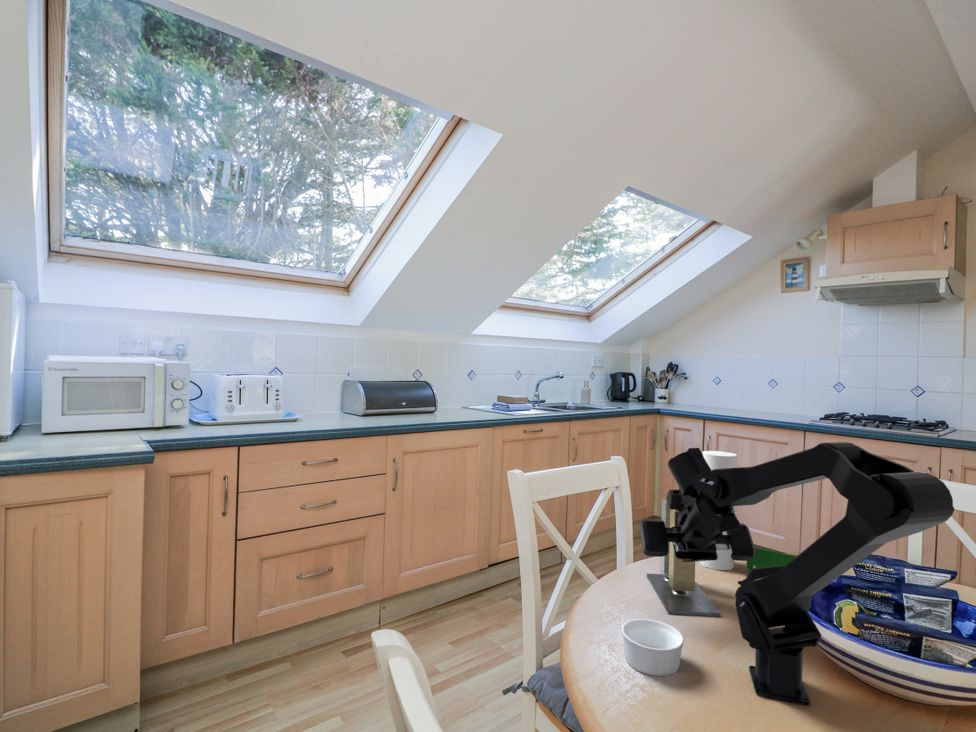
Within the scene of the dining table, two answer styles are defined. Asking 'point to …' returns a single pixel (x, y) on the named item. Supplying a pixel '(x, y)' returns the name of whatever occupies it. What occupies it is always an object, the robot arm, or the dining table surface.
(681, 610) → the bolt plate
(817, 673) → the dining table surface
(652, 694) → the dining table surface
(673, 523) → the sliding leg
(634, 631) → the ramekin
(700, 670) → the dining table surface
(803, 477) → the robot arm
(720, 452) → the cylindrical container
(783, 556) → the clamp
